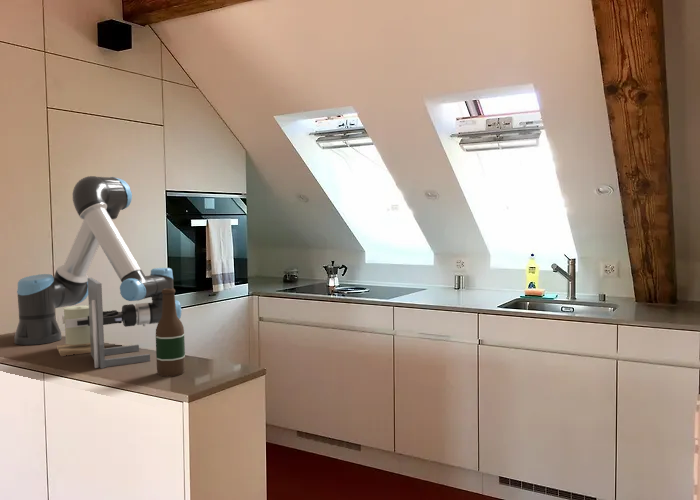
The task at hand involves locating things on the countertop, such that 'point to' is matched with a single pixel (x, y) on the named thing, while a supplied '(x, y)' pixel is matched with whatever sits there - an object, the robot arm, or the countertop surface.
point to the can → (77, 333)
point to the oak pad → (74, 349)
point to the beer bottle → (170, 338)
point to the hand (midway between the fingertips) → (64, 321)
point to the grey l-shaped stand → (98, 333)
